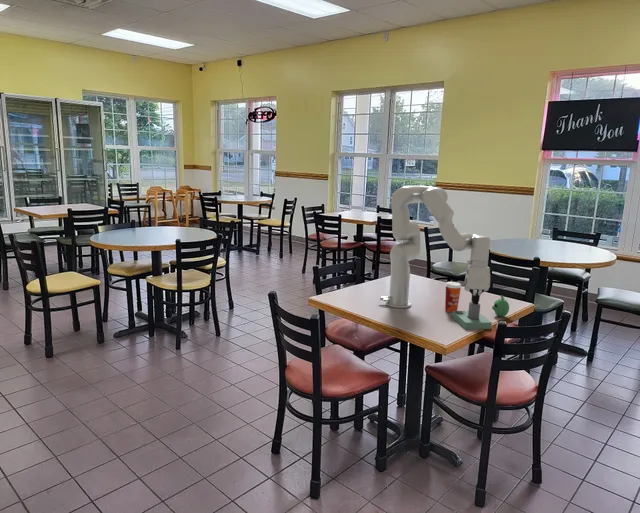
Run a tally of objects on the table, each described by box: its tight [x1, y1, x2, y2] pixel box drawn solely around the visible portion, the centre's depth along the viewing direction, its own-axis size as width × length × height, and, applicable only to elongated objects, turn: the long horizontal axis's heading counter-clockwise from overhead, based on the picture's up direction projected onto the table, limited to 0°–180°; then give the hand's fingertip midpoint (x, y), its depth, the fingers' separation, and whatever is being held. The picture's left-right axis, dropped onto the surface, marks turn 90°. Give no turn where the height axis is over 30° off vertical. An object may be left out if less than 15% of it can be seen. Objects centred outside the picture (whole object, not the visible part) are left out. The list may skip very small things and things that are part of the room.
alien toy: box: [491, 295, 510, 318], centre depth 227 cm, size 7×8×10 cm
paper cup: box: [444, 281, 462, 314], centre depth 232 cm, size 8×8×14 cm
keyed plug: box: [467, 301, 481, 320], centre depth 215 cm, size 4×5×10 cm
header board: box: [451, 310, 493, 330], centre depth 217 cm, size 12×16×3 cm
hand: (475, 303), depth 213 cm, fingers closed
